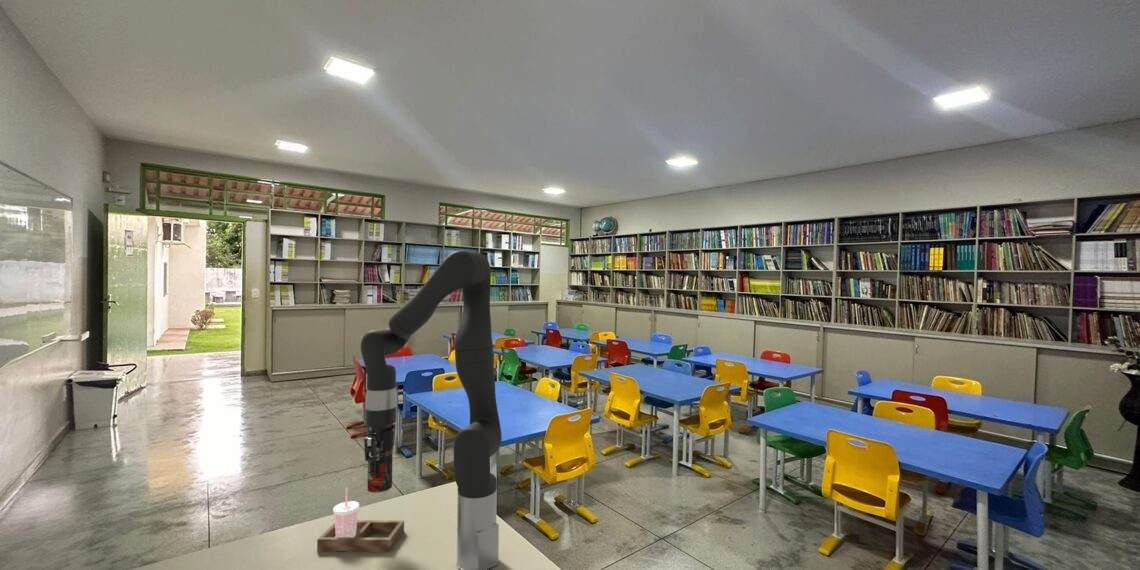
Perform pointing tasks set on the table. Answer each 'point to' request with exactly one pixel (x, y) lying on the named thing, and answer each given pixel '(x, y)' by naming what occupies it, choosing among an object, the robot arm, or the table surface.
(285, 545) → the table surface
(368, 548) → the divided wooden tray
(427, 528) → the table surface
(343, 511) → the beverage cup
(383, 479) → the deodorant
